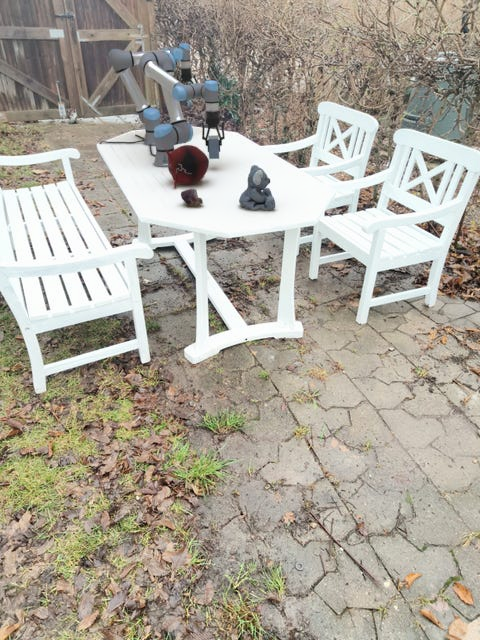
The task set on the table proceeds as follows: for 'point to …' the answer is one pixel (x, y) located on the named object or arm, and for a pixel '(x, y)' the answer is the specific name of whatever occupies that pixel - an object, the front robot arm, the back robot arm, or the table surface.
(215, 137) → the block
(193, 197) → the rock
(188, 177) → the dark red rounded piece
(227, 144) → the table surface
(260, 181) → the koala plush
